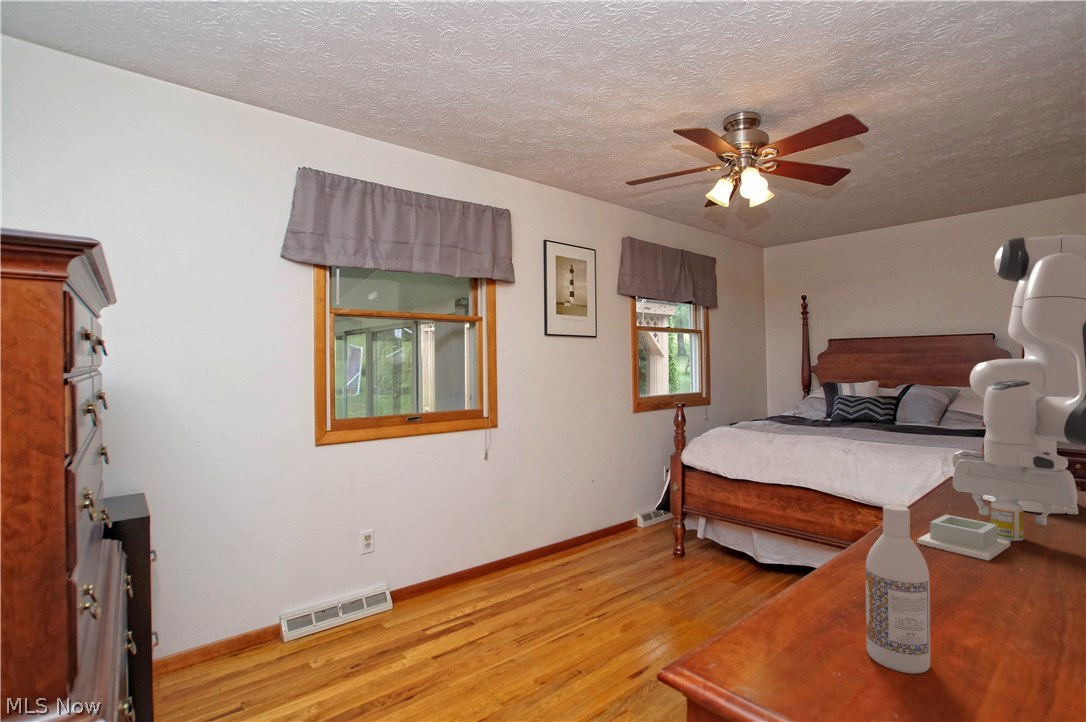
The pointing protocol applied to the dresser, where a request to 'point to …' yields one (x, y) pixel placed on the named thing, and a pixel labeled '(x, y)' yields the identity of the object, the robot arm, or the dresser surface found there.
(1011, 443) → the robot arm
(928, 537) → the caddy
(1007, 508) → the supplement bottle
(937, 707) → the dresser surface
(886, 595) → the bath foam
